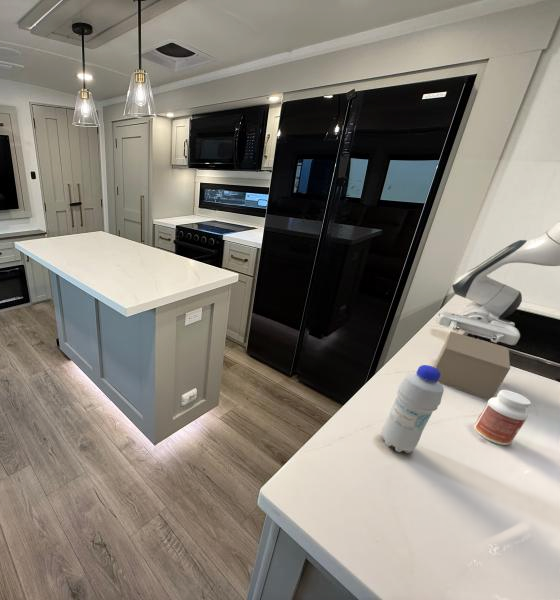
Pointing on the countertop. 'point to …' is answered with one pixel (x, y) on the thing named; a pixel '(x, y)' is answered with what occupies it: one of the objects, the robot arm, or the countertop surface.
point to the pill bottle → (502, 417)
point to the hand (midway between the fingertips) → (474, 334)
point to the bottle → (412, 408)
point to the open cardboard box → (472, 365)
